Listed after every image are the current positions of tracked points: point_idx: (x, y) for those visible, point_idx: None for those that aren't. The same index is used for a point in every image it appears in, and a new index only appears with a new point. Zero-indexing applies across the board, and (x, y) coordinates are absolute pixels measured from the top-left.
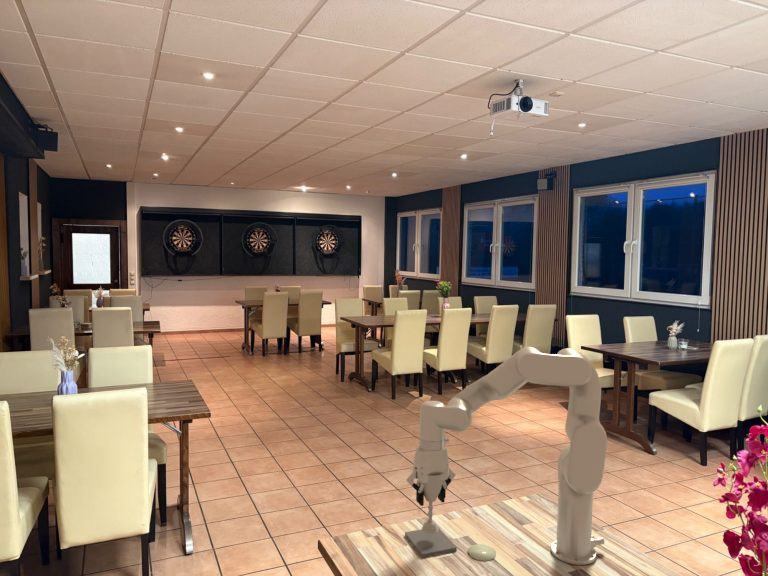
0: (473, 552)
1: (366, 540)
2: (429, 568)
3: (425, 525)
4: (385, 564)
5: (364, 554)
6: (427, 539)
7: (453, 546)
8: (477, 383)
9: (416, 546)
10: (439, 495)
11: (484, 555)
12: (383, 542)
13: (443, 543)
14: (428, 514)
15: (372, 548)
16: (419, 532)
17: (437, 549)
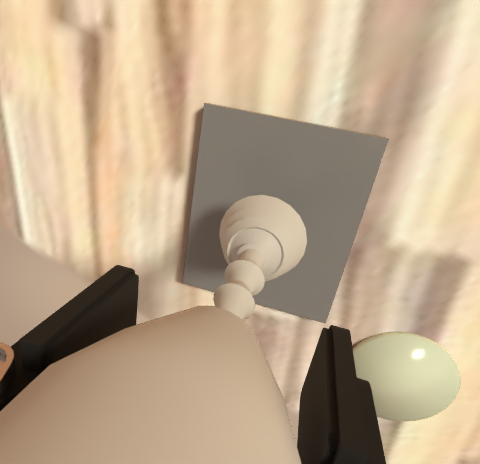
0: (363, 368)
1: (43, 53)
2: None
3: (224, 246)
4: (64, 240)
5: (16, 150)
6: None
7: (319, 312)
8: None
9: (189, 231)
10: (314, 385)
11: (382, 400)
12: (102, 108)
13: (299, 275)
14: (225, 279)
15: (50, 127)
16: (265, 142)
17: None
